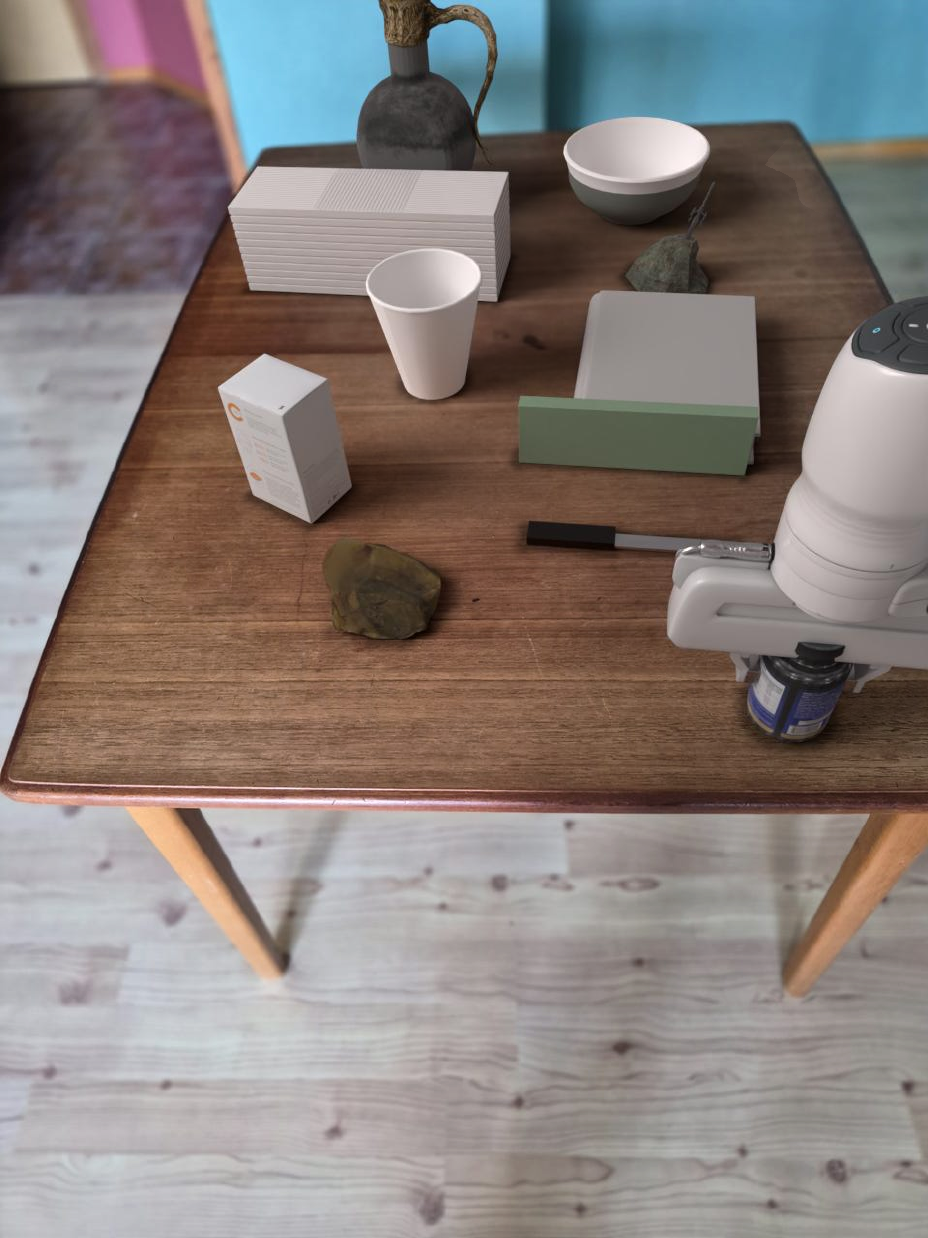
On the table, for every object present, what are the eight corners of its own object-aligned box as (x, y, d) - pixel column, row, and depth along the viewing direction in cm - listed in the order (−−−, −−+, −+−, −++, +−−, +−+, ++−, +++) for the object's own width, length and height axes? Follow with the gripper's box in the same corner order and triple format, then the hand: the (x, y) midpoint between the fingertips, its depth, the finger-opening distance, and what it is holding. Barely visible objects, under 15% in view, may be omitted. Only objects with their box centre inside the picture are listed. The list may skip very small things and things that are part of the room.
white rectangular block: (754, 295, 98) (760, 433, 84) (748, 326, 101) (752, 464, 87) (590, 289, 101) (567, 421, 87) (588, 319, 104) (566, 451, 90)
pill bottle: (833, 694, 70) (875, 604, 61) (817, 757, 66) (860, 670, 58) (754, 670, 71) (784, 579, 63) (735, 730, 68) (764, 642, 60)
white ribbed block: (510, 256, 114) (508, 171, 106) (497, 301, 108) (493, 214, 99) (276, 247, 120) (257, 165, 111) (250, 290, 113) (227, 206, 105)
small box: (353, 487, 88) (330, 377, 78) (311, 526, 85) (281, 416, 75) (293, 459, 92) (263, 350, 81) (251, 495, 88) (214, 387, 78)
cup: (509, 375, 98) (507, 271, 89) (435, 428, 93) (424, 324, 84) (433, 337, 104) (423, 235, 94) (359, 386, 99) (340, 283, 89)
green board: (744, 464, 87) (758, 406, 81) (744, 475, 86) (758, 417, 80) (521, 452, 90) (520, 395, 85) (519, 462, 89) (518, 405, 84)
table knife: (737, 542, 80) (739, 534, 80) (738, 559, 79) (740, 552, 78) (529, 527, 83) (529, 520, 82) (526, 544, 82) (526, 537, 81)
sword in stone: (621, 295, 107) (629, 196, 98) (629, 261, 112) (637, 164, 103) (705, 302, 105) (722, 201, 96) (710, 267, 110) (726, 168, 101)
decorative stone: (451, 568, 81) (448, 541, 78) (426, 648, 75) (422, 622, 72) (342, 554, 83) (335, 527, 80) (309, 631, 77) (301, 605, 74)
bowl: (711, 240, 114) (722, 175, 108) (565, 248, 115) (567, 183, 109) (690, 173, 126) (698, 111, 119) (558, 181, 127) (559, 120, 120)
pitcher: (382, 187, 129) (349, -66, 106) (510, 195, 125) (504, -66, 102) (358, 224, 122) (317, -37, 99) (492, 233, 118) (482, -36, 95)
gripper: (676, 576, 54) (652, 701, 65) (1035, 603, 51) (948, 730, 62) (677, 505, 58) (654, 634, 69) (1010, 527, 55) (933, 658, 66)
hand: (796, 680), depth 66 cm, fingers closed on pill bottle, 6 cm apart
